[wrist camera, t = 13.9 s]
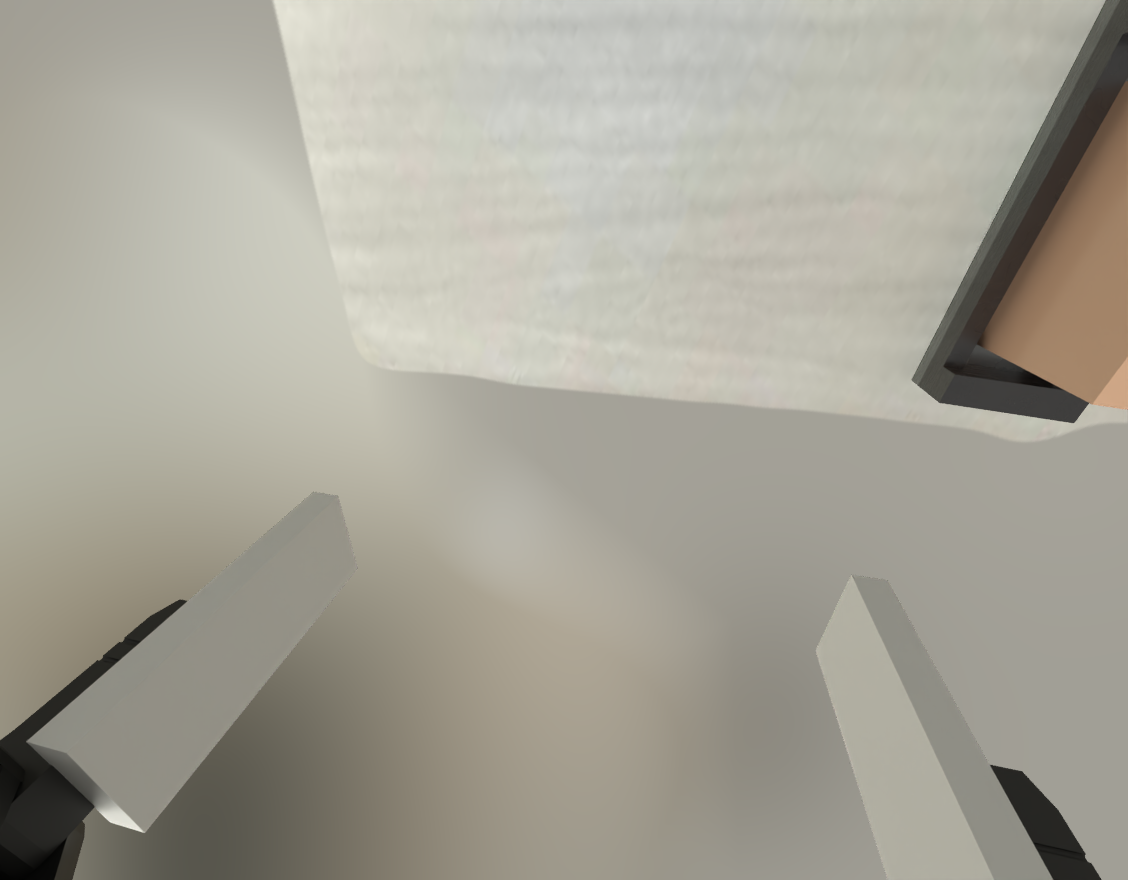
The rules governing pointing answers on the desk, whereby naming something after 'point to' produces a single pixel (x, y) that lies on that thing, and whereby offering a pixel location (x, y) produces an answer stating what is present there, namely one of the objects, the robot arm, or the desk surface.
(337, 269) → the desk surface
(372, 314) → the desk surface
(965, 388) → the dark grey tray
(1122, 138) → the orange rectangular block
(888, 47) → the desk surface
